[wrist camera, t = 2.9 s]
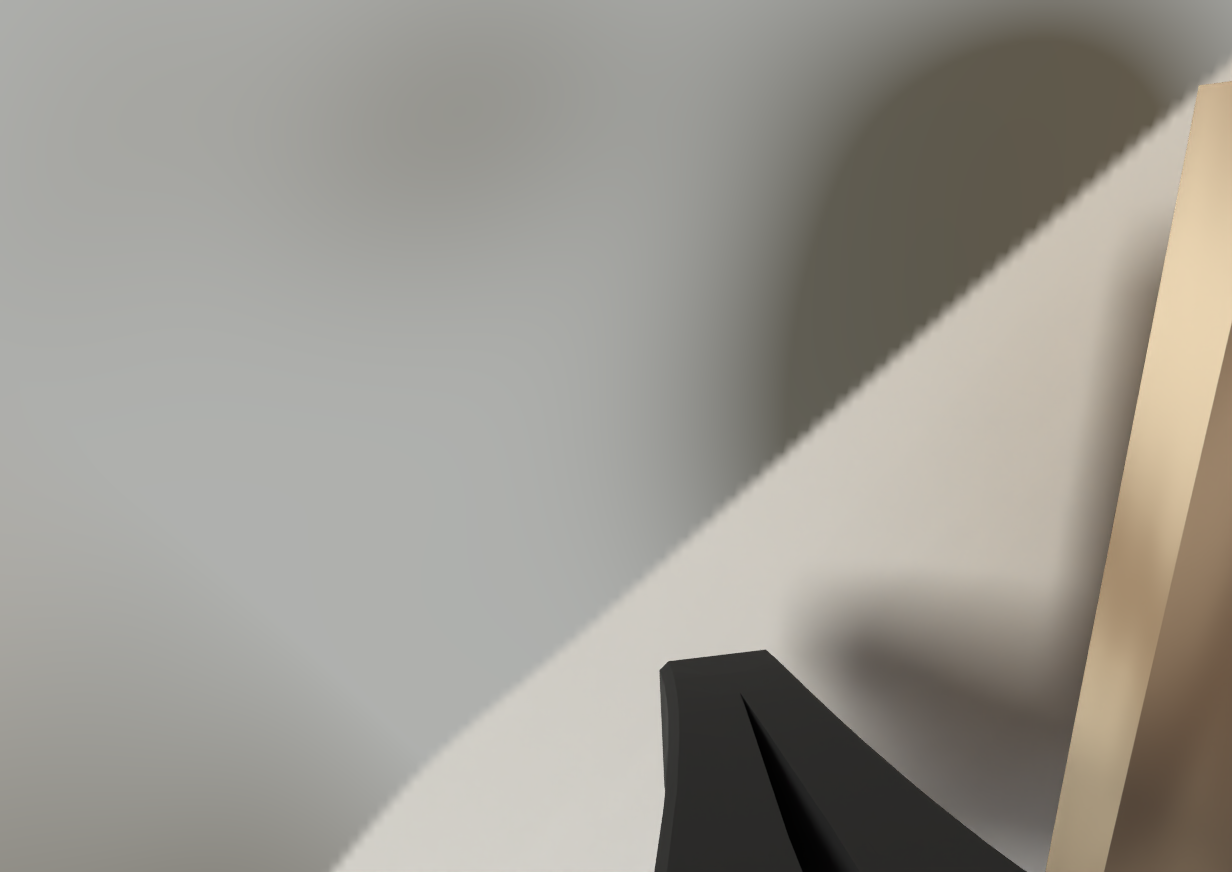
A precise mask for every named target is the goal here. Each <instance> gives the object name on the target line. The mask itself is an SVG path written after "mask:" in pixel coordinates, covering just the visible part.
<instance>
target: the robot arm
mask: <svg viewBox="0 0 1232 872" xmlns="http://www.w3.org/2000/svg"><path fill="white" fill-rule="evenodd" d="M660 693H661V716H662V739H663V762H664V785H665V800H664V809H663V817H662V823H661V830H660V837H659V844H658V851H657V858H656V865H655V872H1026V871H1025V870H1023V869H1022V868H1020V867H1019V866H1017V865H1016V864H1015V863H1013V862H1012V861H1011V860H1009V859H1008V858H1006V857H1005V856H1004V855H1002V854H1001V853H1000V852H998V851H997V850H996V849H994V848H993V847H992V846H990V845H989V844H988V843H986V842H985V841H984V840H982V839H981V838H980V837H978V836H977V835H976V834H975V833H973V832H972V831H971V830H969V829H968V828H967V827H966V826H964V825H963V824H962V823H961V822H959V821H958V820H957V819H956V818H954V817H953V816H952V815H951V814H949V813H948V812H947V811H945V810H944V809H943V808H942V807H940V806H939V805H938V804H937V803H935V802H934V801H933V800H932V799H931V798H929V797H928V796H927V795H926V794H925V793H923V792H922V791H921V790H920V789H919V788H917V787H916V786H915V785H914V784H913V783H911V782H910V781H909V780H908V779H907V778H905V777H904V776H903V775H902V774H901V773H900V772H898V771H897V770H896V769H895V768H894V767H893V766H892V765H890V764H889V763H888V762H887V761H886V760H885V759H884V758H882V757H881V756H880V755H879V754H878V753H877V752H876V751H874V750H873V749H872V748H871V747H870V746H869V745H868V744H866V743H865V742H864V741H863V740H862V739H861V738H860V737H858V736H857V735H856V734H855V733H854V732H853V731H852V730H851V729H850V728H849V727H847V726H846V725H845V724H844V723H843V722H842V721H841V720H840V719H839V718H838V717H837V716H836V715H835V714H833V713H832V712H831V711H830V710H829V709H828V708H827V707H826V706H825V705H824V704H823V703H822V702H821V701H820V700H818V699H817V698H816V697H815V696H814V695H813V694H812V693H811V692H810V691H809V690H808V689H807V688H806V687H805V686H804V685H803V684H802V683H801V682H800V681H799V680H798V679H797V678H795V677H794V676H793V675H792V674H791V673H790V672H789V671H788V670H787V669H786V668H785V667H784V666H783V665H782V664H781V663H780V662H779V661H778V660H777V659H776V658H775V657H774V656H772V655H771V654H770V653H769V652H768V651H767V650H760V651H751V652H743V653H735V654H726V655H718V656H710V657H701V658H693V659H684V660H676V661H668V662H667V663H666V664H665V665H664V666H663V667H662V668H661V669H660Z"/></svg>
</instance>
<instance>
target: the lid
mask: <svg viewBox="0 0 1232 872" xmlns="http://www.w3.org/2000/svg"><path fill="white" fill-rule="evenodd" d="M1045 872H1232V81H1229V82H1222V83H1214V84H1207V85H1199V88H1198V93H1197V98H1196V103H1195V108H1194V114H1193V119H1192V124H1191V129H1190V134H1189V139H1188V144H1187V149H1186V154H1185V160H1184V165H1183V170H1182V175H1181V180H1180V185H1179V190H1178V195H1177V201H1176V206H1175V211H1174V216H1173V221H1172V226H1171V231H1170V236H1169V241H1168V247H1167V252H1166V257H1165V262H1164V267H1163V272H1162V277H1161V282H1160V288H1159V293H1158V298H1157V303H1156V308H1155V313H1154V318H1153V323H1152V328H1151V334H1150V339H1149V344H1148V349H1147V354H1146V359H1145V364H1144V369H1143V375H1142V380H1141V385H1140V390H1139V395H1138V400H1137V405H1136V410H1135V415H1134V421H1133V426H1132V431H1131V436H1130V441H1129V446H1128V451H1127V456H1126V462H1125V467H1124V472H1123V477H1122V482H1121V487H1120V492H1119V497H1118V503H1117V508H1116V513H1115V518H1114V523H1113V528H1112V533H1111V538H1110V543H1109V549H1108V554H1107V559H1106V564H1105V569H1104V574H1103V579H1102V584H1101V590H1100V595H1099V600H1098V605H1097V610H1096V615H1095V620H1094V625H1093V630H1092V636H1091V641H1090V646H1089V651H1088V656H1087V661H1086V666H1085V671H1084V677H1083V682H1082V687H1081V692H1080V697H1079V702H1078V707H1077V712H1076V717H1075V723H1074V728H1073V733H1072V738H1071V743H1070V748H1069V753H1068V758H1067V764H1066V769H1065V774H1064V779H1063V784H1062V789H1061V794H1060V799H1059V804H1058V810H1057V815H1056V820H1055V825H1054V830H1053V835H1052V840H1051V845H1050V851H1049V856H1048V861H1047V866H1046V871H1045Z"/></svg>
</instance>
